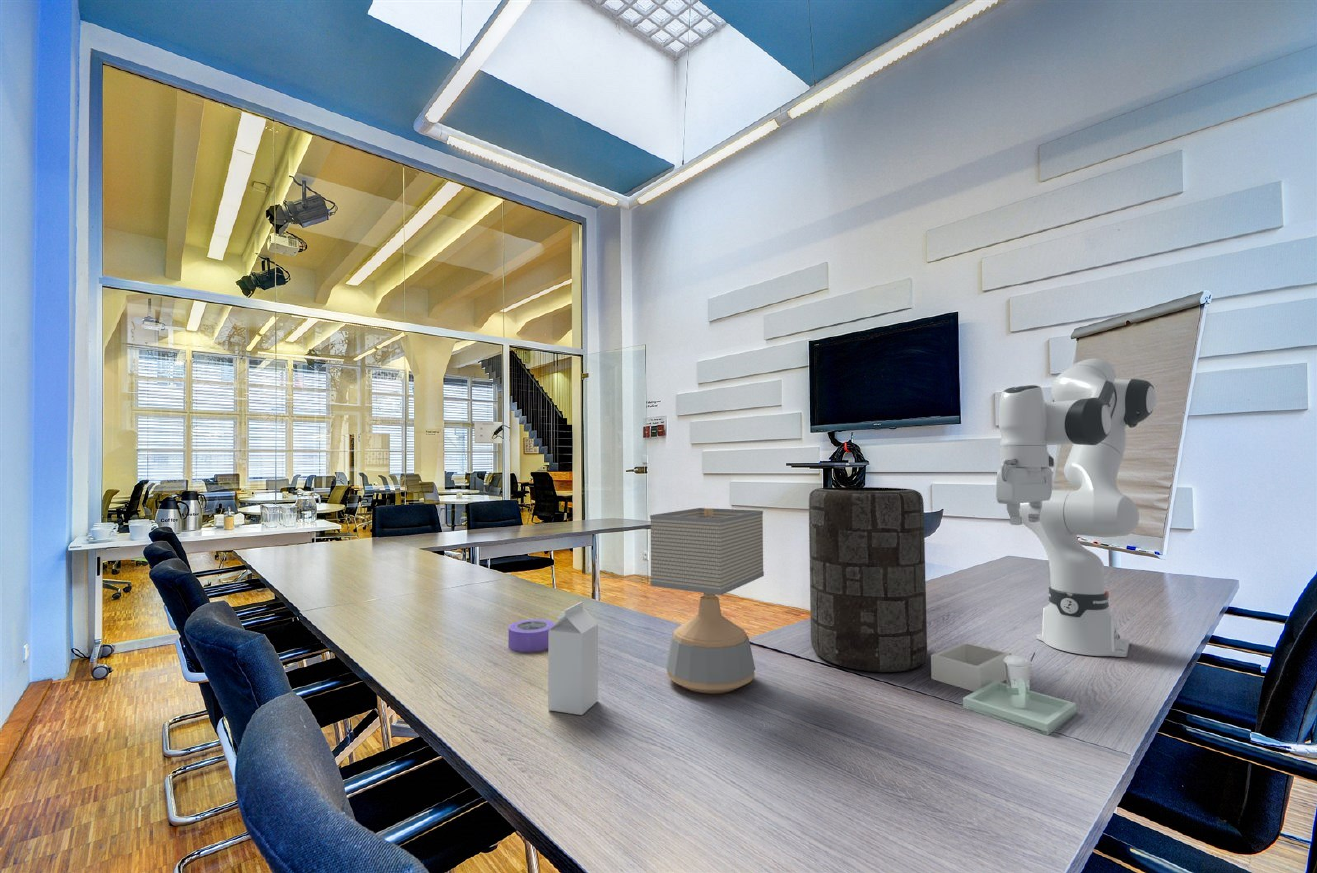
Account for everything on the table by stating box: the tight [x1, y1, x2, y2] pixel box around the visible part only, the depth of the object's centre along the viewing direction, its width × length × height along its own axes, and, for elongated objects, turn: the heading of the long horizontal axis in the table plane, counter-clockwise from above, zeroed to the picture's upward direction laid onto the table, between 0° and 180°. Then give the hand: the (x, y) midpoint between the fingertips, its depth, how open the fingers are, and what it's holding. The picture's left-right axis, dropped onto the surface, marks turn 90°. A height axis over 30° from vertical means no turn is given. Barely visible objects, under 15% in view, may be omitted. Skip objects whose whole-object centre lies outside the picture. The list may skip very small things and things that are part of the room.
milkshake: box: [1003, 652, 1036, 709], centre depth 109 cm, size 4×5×10 cm
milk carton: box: [547, 601, 599, 716], centre depth 111 cm, size 7×7×19 cm
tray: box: [962, 681, 1078, 736], centre depth 108 cm, size 14×14×2 cm
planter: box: [808, 486, 928, 673], centre depth 140 cm, size 26×26×40 cm
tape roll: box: [507, 618, 556, 653], centre depth 148 cm, size 12×12×5 cm
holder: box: [930, 641, 1012, 693], centre depth 124 cm, size 15×10×5 cm, turn 127°
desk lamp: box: [649, 507, 765, 695], centre depth 123 cm, size 22×19×37 cm
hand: (1025, 523), depth 125 cm, fingers open, 8 cm apart
